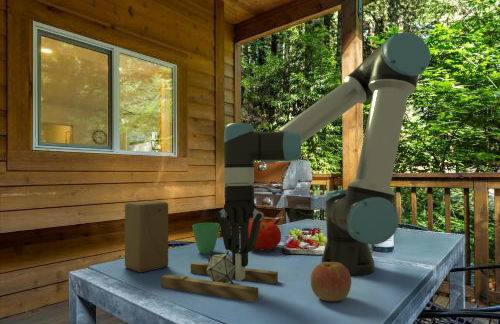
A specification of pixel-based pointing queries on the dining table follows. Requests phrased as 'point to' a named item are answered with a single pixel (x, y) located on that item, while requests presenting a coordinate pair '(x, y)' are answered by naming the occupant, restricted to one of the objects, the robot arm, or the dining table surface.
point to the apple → (330, 281)
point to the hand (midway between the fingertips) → (240, 279)
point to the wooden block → (146, 235)
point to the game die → (220, 268)
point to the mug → (206, 236)
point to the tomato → (267, 236)
